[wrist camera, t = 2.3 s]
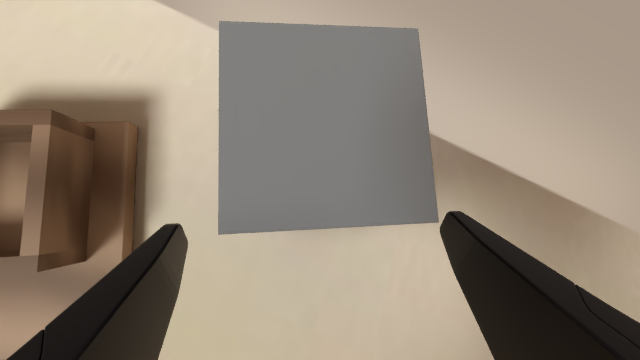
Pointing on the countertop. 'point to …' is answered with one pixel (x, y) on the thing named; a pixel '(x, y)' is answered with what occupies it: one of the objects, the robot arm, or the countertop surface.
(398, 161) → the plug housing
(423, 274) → the countertop surface
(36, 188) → the walnut holder
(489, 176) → the countertop surface
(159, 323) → the robot arm
